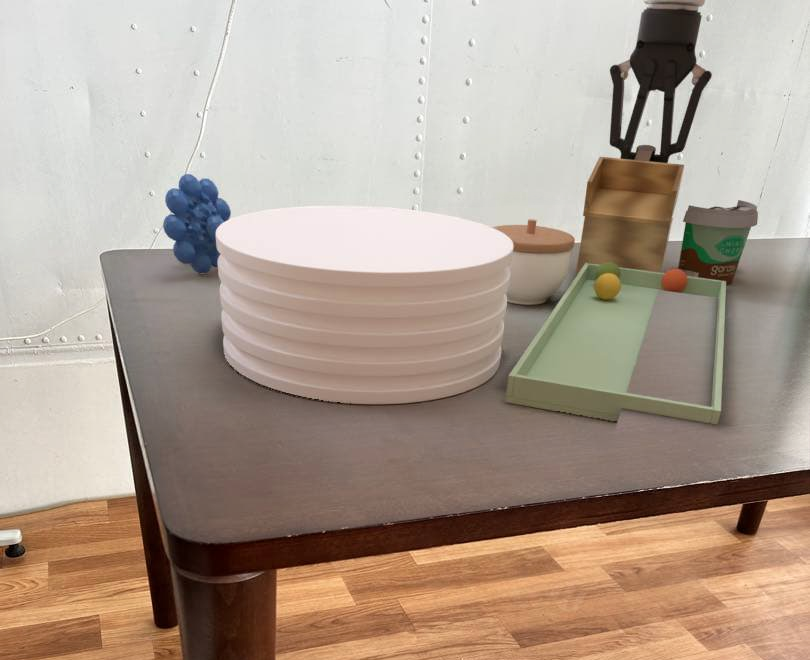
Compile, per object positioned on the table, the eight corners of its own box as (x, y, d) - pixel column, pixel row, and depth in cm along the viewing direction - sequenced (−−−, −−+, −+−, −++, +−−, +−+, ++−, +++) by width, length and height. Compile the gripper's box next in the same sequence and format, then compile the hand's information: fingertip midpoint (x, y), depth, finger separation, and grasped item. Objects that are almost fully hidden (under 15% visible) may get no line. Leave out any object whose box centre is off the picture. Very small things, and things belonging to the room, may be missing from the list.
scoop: (681, 182, 115) (689, 148, 112) (669, 226, 105) (677, 190, 102) (602, 174, 118) (607, 141, 115) (582, 216, 108) (587, 181, 104)
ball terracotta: (687, 261, 104) (661, 264, 105) (686, 279, 103) (660, 282, 104) (687, 281, 107) (662, 283, 108) (687, 298, 105) (661, 301, 106)
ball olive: (605, 291, 109) (624, 273, 108) (607, 294, 106) (626, 275, 105) (589, 274, 108) (607, 255, 107) (590, 276, 105) (609, 257, 104)
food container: (706, 292, 110) (725, 214, 105) (669, 281, 114) (686, 205, 109) (759, 282, 116) (780, 207, 111) (722, 271, 120) (741, 199, 115)
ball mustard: (623, 270, 100) (617, 295, 99) (623, 281, 103) (617, 305, 103) (597, 267, 100) (591, 292, 100) (597, 277, 104) (591, 302, 103)
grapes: (198, 289, 99) (189, 183, 93) (156, 279, 102) (145, 175, 95) (258, 270, 108) (253, 172, 102) (218, 261, 111) (211, 165, 104)
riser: (660, 277, 116) (673, 217, 112) (657, 287, 111) (670, 225, 107) (581, 266, 119) (591, 208, 114) (575, 276, 114) (584, 215, 109)
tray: (721, 301, 107) (726, 281, 105) (713, 439, 69) (721, 411, 68) (582, 282, 111) (585, 262, 110) (504, 402, 74) (508, 375, 73)
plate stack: (556, 378, 80) (575, 257, 73) (289, 425, 67) (285, 284, 61) (413, 300, 100) (419, 200, 94) (188, 325, 88) (177, 212, 81)
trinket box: (517, 315, 97) (527, 232, 92) (463, 291, 104) (470, 214, 99) (582, 304, 102) (596, 225, 97) (526, 282, 109) (536, 208, 104)
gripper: (606, 4, 103) (576, 202, 116) (737, 10, 99) (691, 214, 112) (614, 6, 109) (584, 194, 122) (737, 12, 105) (693, 206, 118)
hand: (635, 203), depth 117 cm, fingers closed on scoop, 3 cm apart
